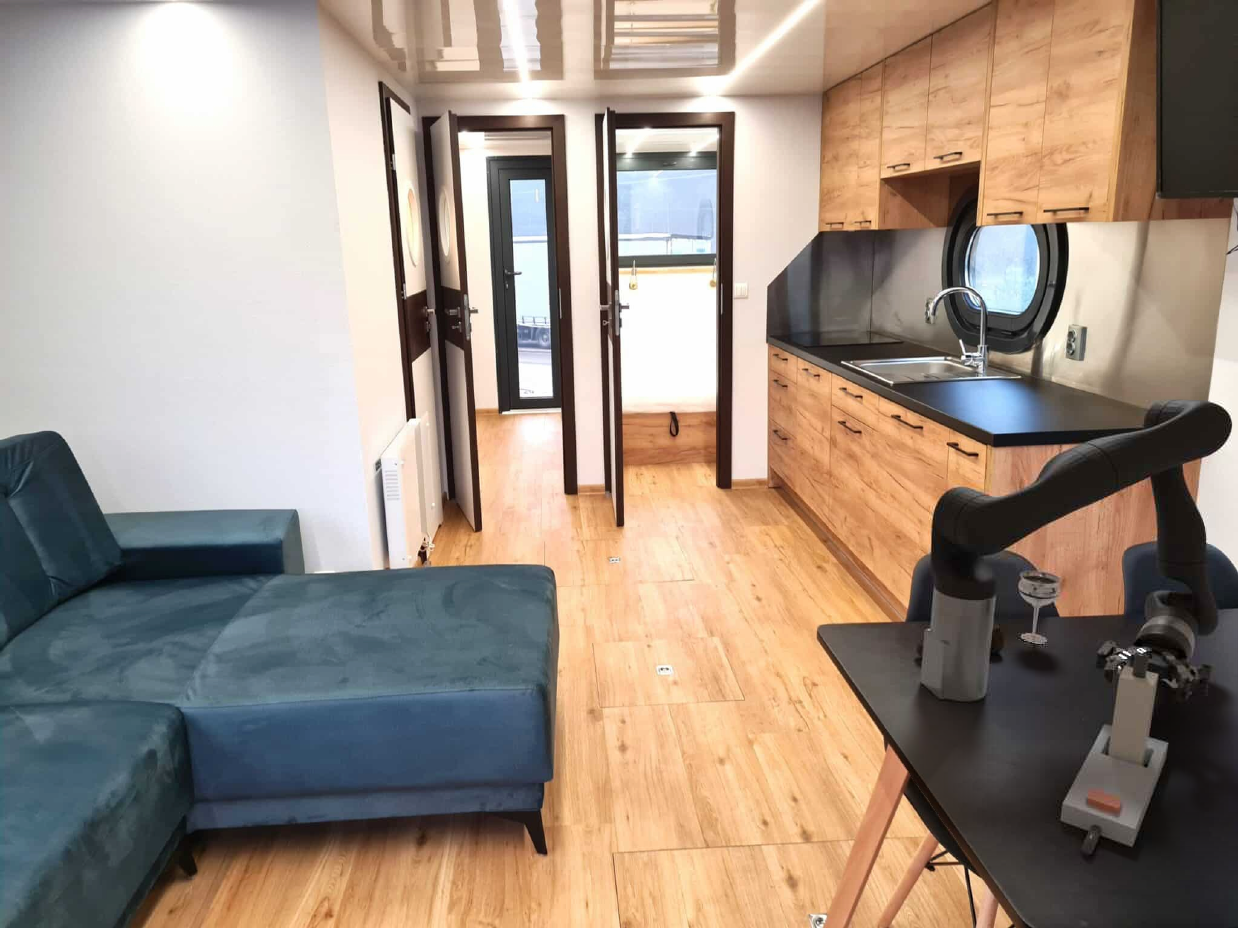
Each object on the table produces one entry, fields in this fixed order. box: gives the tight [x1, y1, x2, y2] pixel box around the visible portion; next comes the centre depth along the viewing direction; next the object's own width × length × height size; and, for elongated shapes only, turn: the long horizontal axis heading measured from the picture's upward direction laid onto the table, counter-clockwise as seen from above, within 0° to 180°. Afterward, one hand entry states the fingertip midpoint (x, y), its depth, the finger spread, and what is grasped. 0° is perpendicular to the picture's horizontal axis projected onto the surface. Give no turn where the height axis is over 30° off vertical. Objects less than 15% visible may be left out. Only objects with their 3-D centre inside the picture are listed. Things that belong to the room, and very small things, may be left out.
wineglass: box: [1017, 570, 1062, 645], centre depth 161 cm, size 7×7×12 cm
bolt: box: [916, 622, 1005, 658], centre depth 156 cm, size 6×5×15 cm
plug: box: [1107, 652, 1159, 767], centre depth 120 cm, size 4×4×17 cm
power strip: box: [1059, 723, 1169, 856], centre depth 116 cm, size 29×8×3 cm, turn 141°
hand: (1143, 686), depth 125 cm, fingers open, 8 cm apart
